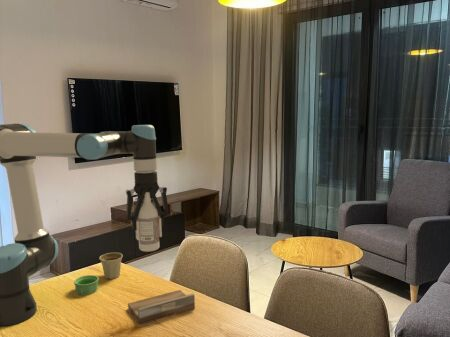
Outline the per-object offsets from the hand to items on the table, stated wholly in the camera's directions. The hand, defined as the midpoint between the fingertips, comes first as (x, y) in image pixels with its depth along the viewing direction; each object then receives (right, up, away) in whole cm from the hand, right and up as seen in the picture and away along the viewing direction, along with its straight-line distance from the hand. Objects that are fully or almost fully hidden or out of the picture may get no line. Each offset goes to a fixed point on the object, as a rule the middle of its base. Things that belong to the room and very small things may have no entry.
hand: (149, 237), depth 136 cm
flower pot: (-21, -22, +31) cm, 43 cm away
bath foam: (0, -4, +1) cm, 4 cm away
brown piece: (+4, -26, +3) cm, 26 cm away
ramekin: (-28, -24, +18) cm, 41 cm away
